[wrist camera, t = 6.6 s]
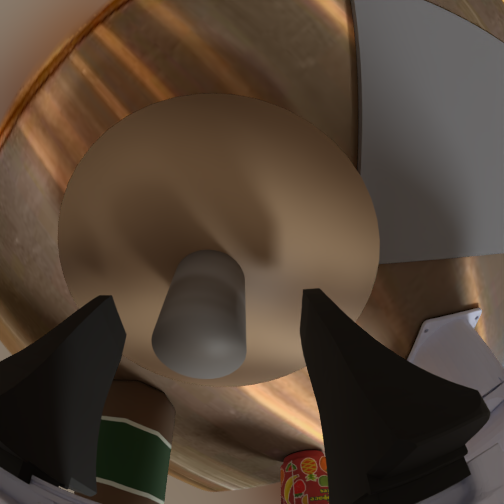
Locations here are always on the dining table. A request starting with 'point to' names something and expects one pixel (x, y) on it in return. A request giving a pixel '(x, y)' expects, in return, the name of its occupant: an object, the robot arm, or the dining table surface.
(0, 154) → the dining table surface
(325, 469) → the smoothie
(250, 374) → the lid
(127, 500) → the beer bottle
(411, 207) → the mat
